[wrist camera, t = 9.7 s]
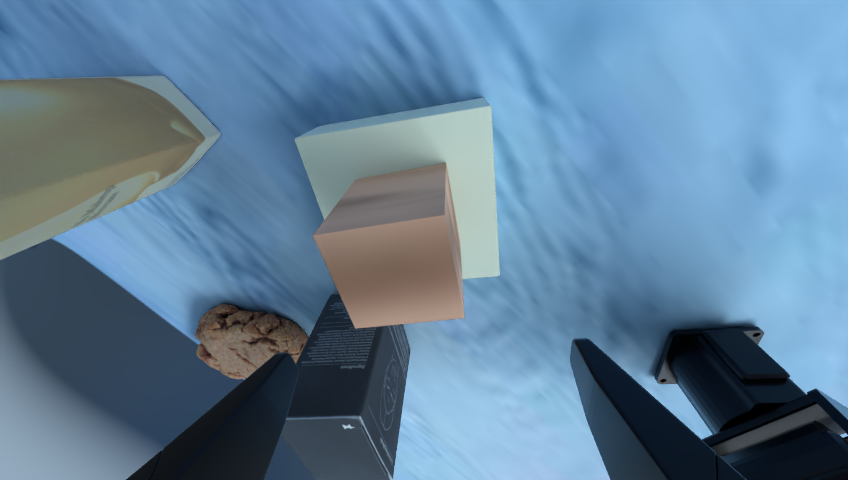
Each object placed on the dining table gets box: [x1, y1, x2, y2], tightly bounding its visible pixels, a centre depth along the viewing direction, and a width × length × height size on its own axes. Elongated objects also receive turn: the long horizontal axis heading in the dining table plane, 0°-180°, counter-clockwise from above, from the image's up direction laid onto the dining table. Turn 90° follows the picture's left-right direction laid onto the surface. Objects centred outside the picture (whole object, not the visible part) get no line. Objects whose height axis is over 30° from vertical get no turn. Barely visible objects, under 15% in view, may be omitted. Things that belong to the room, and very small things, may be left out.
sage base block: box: [294, 98, 500, 279], centre depth 19 cm, size 10×10×4 cm
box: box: [281, 293, 410, 480], centre depth 23 cm, size 8×6×11 cm
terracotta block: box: [313, 163, 465, 329], centre depth 15 cm, size 5×5×6 cm
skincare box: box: [0, 75, 221, 260], centre depth 14 cm, size 6×4×12 cm
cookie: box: [195, 304, 309, 379], centre depth 28 cm, size 10×11×3 cm
